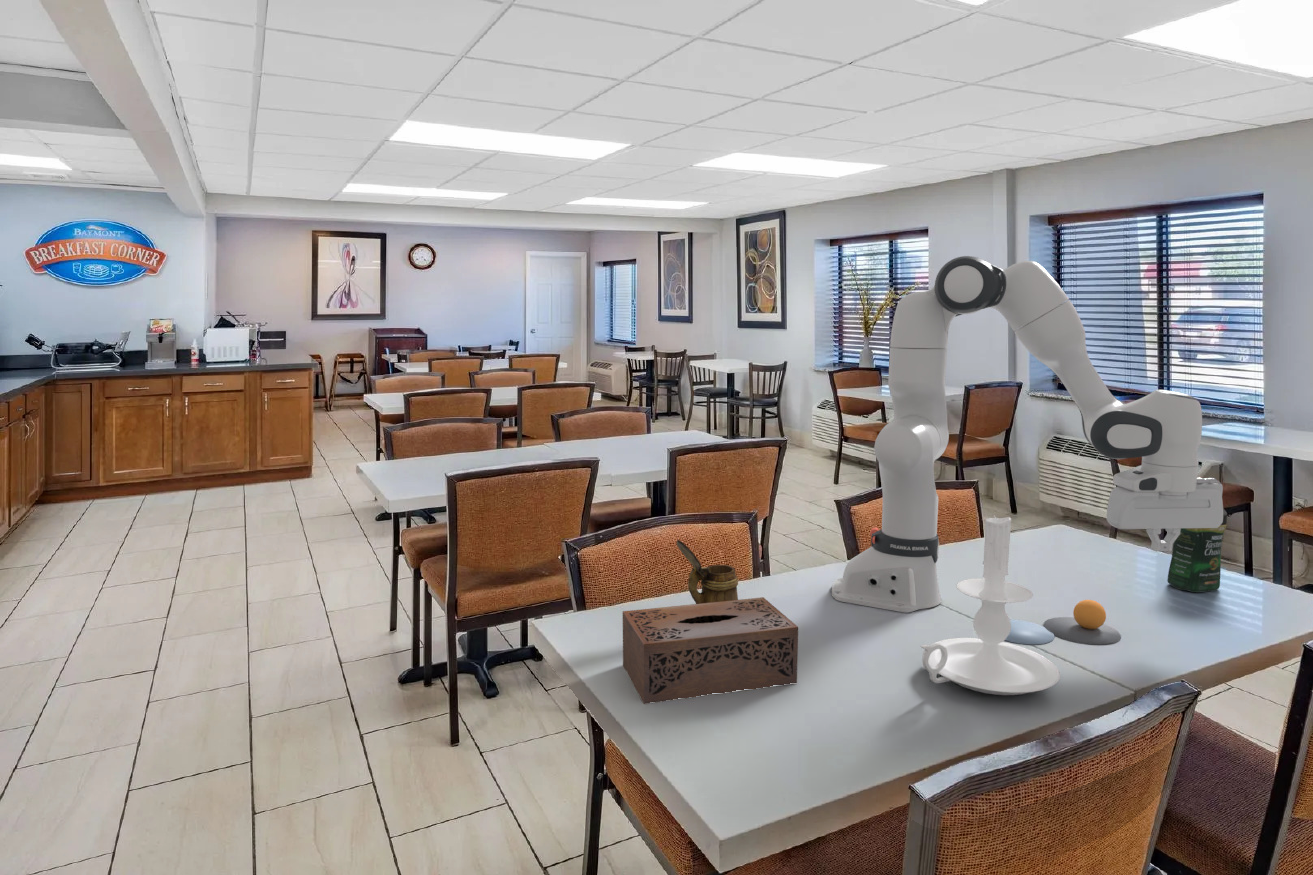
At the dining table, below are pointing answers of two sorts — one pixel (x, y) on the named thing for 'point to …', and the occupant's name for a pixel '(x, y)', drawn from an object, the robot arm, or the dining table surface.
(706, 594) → the wooden mug
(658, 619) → the tissue box cover
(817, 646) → the dining table surface
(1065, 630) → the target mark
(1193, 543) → the coffee jar
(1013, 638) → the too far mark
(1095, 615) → the ball
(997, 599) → the candlestick
